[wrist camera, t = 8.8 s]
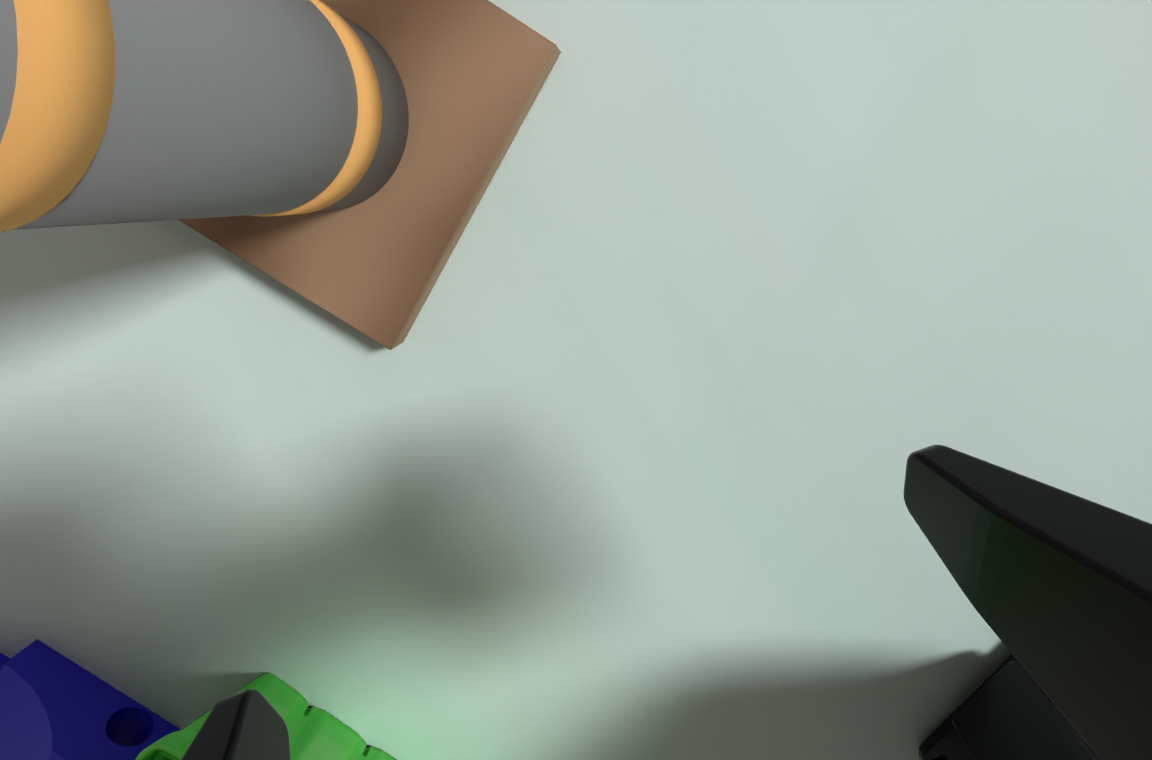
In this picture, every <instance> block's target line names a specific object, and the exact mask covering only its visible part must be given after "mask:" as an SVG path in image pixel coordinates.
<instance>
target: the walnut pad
mask: <svg viewBox="0 0 1152 760" xmlns="http://www.w3.org/2000/svg"><path fill="white" fill-rule="evenodd" d="M320 1H322V2H323V3H325V4H326V5H328V6H329V7H331V8H332V9H333V10H334V11H335V12H337V13H339V14H340V15H342V16H344V17H346V18H348V19H349V20H351V21H353V22H355V23H356V24H358V25H359V26H361V27H362V28H363V29H365V30H366V31H367V32H368V33H370V34H371V35H372V36H373V37H374V38H375V39H376V40H377V41H378V42H379V43H380V44H381V45H382V47H383V48H384V49H385V50H386V52H387V53H388V55H389V56H390V58H391V59H392V61H393V63H394V65H395V66H396V68H397V70H398V72H399V75H400V77H401V80H402V82H403V85H404V89H405V93H406V97H407V103H408V111H409V127H408V137H407V142H406V146H405V150H404V153H403V156H402V158H401V161H400V163H399V165H398V167H397V169H396V171H395V172H394V174H393V175H392V177H391V178H390V179H389V181H388V182H387V183H386V184H385V185H384V186H383V187H382V188H381V189H380V190H379V191H378V192H377V193H376V194H374V195H373V196H372V197H370V198H369V199H367V200H365V201H364V202H362V203H360V204H357V205H354V206H352V207H349V208H344V209H340V210H329V211H315V212H311V213H306V214H297V215H283V216H268V217H263V216H250V215H245V216H229V217H212V218H195V219H179V220H180V221H181V222H183V223H185V224H186V225H188V226H190V227H191V228H193V229H194V230H196V231H198V232H199V233H201V234H203V235H204V236H206V237H207V238H209V239H211V240H212V241H214V242H216V243H217V244H219V245H220V246H222V247H224V248H225V249H227V250H229V251H230V252H232V253H233V254H235V255H237V256H238V257H240V258H242V259H243V260H245V261H246V262H248V263H250V264H251V265H253V266H255V267H256V268H258V269H259V270H261V271H263V272H264V273H266V274H268V275H269V276H271V277H272V278H274V279H276V280H277V281H279V282H281V283H282V284H284V285H285V286H287V287H289V288H290V289H292V290H294V291H295V292H297V293H299V294H300V295H302V296H303V297H305V298H307V299H308V300H310V301H312V302H313V303H315V304H316V305H318V306H320V307H321V308H323V309H325V310H326V311H328V312H329V313H331V314H333V315H334V316H336V317H338V318H339V319H341V320H342V321H344V322H346V323H347V324H349V325H351V326H352V327H354V328H355V329H357V330H359V331H360V332H362V333H364V334H365V335H367V336H368V337H370V338H372V339H373V340H375V341H377V342H378V343H380V344H381V345H383V346H385V347H386V348H388V349H390V350H391V349H393V348H394V347H396V346H398V345H399V344H401V343H403V341H404V339H405V338H406V336H407V334H408V332H409V330H410V328H411V327H412V325H413V323H414V321H415V319H416V317H417V316H418V314H419V312H420V310H421V308H422V306H423V305H424V303H425V301H426V299H427V297H428V295H429V294H430V292H431V290H432V288H433V286H434V284H435V282H436V281H437V279H438V277H439V275H440V273H441V271H442V270H443V268H444V266H445V264H446V262H447V260H448V259H449V257H450V255H451V253H452V251H453V249H454V248H455V246H456V244H457V242H458V240H459V238H460V237H461V235H462V233H463V231H464V229H465V227H466V226H467V224H468V222H469V220H470V218H471V216H472V215H473V213H474V211H475V209H476V207H477V205H478V204H479V202H480V200H481V198H482V196H483V194H484V192H485V191H486V189H487V187H488V185H489V183H490V181H491V180H492V178H493V176H494V174H495V172H496V170H497V169H498V167H499V165H500V163H501V161H502V159H503V158H504V156H505V154H506V152H507V150H508V148H509V147H510V145H511V143H512V141H513V139H514V137H515V136H516V134H517V132H518V130H519V128H520V126H521V125H522V123H523V121H524V119H525V117H526V115H527V114H528V112H529V110H530V108H531V106H532V104H533V102H534V101H535V99H536V97H537V95H538V93H539V91H540V90H541V88H542V86H543V84H544V82H545V80H546V79H547V77H548V75H549V73H550V71H551V69H552V68H553V66H554V64H555V62H556V60H557V58H558V57H559V55H560V53H561V52H560V51H559V49H558V47H557V46H556V44H554V43H553V42H551V41H549V40H548V39H546V38H545V37H543V36H542V35H540V34H539V33H537V32H536V31H534V30H533V29H531V28H530V27H528V26H526V25H525V24H523V23H522V22H520V21H519V20H517V19H516V18H514V17H513V16H511V15H510V14H508V13H507V12H505V11H503V10H502V9H500V8H499V7H497V6H496V5H494V4H493V3H491V2H490V1H488V0H320Z"/></svg>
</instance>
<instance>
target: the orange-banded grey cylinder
mask: <svg viewBox="0 0 1152 760" xmlns="http://www.w3.org/2000/svg"><path fill="white" fill-rule="evenodd" d="M408 127H409V111H408V103H407V97H406V93H405V89H404V85H403V82H402V80H401V77H400V75H399V72H398V70H397V68H396V66H395V65H394V63H393V61H392V59H391V58H390V56H389V55H388V53H387V52H386V50H385V49H384V48H383V47H382V45H381V44H380V43H379V42H378V41H377V40H376V39H375V38H374V37H373V36H372V35H371V34H370V33H368V32H367V31H366V30H365V29H363V28H362V27H361V26H359V25H358V24H356V23H355V22H353V21H351V20H349V19H348V18H346V17H344V16H342V15H340V14H339V13H337V12H335V11H334V10H333V9H332V8H331V7H329V6H328V5H326V4H325V3H323V2H322V1H320V0H0V232H4V231H7V230H11V229H28V228H45V227H61V226H78V225H95V224H112V223H128V222H145V221H162V220H179V219H195V218H212V217H229V216H245V215H250V216H263V217H268V216H283V215H297V214H306V213H311V212H315V211H329V210H340V209H344V208H349V207H352V206H354V205H357V204H360V203H362V202H364V201H365V200H367V199H369V198H370V197H372V196H373V195H374V194H376V193H377V192H378V191H379V190H380V189H381V188H382V187H383V186H384V185H385V184H386V183H387V182H388V181H389V179H390V178H391V177H392V175H393V174H394V172H395V171H396V169H397V167H398V165H399V163H400V161H401V158H402V156H403V153H404V150H405V146H406V142H407V137H408Z"/></svg>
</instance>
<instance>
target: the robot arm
mask: <svg viewBox="0 0 1152 760" xmlns="http://www.w3.org/2000/svg"><path fill="white" fill-rule="evenodd" d="M904 500H905V504H906V506H907V508H908V510H909V512H910V514H911V515H912V517H913V518H914V520H915V521H916V523H917V524H918V526H919V527H920V529H921V530H922V532H923V533H924V535H925V536H926V537H927V539H928V540H929V542H930V543H931V545H932V546H933V548H934V549H935V551H936V552H937V554H938V555H939V557H940V558H941V560H942V561H943V563H944V564H945V566H946V567H947V569H948V570H949V572H950V573H951V575H952V576H953V578H954V579H955V581H956V582H957V584H958V585H959V587H960V588H961V590H962V591H963V592H964V594H965V595H966V597H967V598H968V599H969V601H970V602H971V604H972V605H973V606H974V608H975V609H976V610H977V611H978V613H979V614H980V615H981V616H982V618H983V619H984V620H985V621H986V623H987V624H988V625H989V626H990V627H991V629H992V630H993V631H994V632H995V633H996V635H997V636H998V637H999V638H1000V639H1001V641H1002V642H1003V643H1004V644H1005V645H1006V647H1007V648H1008V649H1009V650H1010V651H1011V653H1012V655H1011V656H1010V657H1009V658H1008V659H1007V660H1006V661H1005V662H1004V663H1003V664H1002V665H1001V666H1000V667H999V668H998V669H997V670H996V671H995V672H994V673H993V674H992V675H991V676H990V677H989V678H988V679H987V680H986V681H985V682H984V683H983V684H982V685H981V686H980V687H979V688H978V689H977V690H976V691H975V692H974V693H973V694H972V695H971V696H970V697H969V698H968V699H967V700H966V701H965V702H964V703H963V704H962V705H961V706H960V707H959V708H957V709H956V710H955V711H954V712H953V713H952V714H951V715H950V716H949V717H948V718H947V719H946V720H945V721H944V722H943V723H942V724H941V725H940V726H939V727H938V728H937V729H936V730H935V731H934V732H933V733H932V734H931V735H930V736H929V737H928V738H927V739H926V740H925V741H924V742H923V743H922V744H921V746H920V747H919V755H920V758H921V760H1152V524H1150V523H1148V522H1145V521H1142V520H1140V519H1137V518H1134V517H1132V516H1129V515H1126V514H1124V513H1121V512H1119V511H1116V510H1113V509H1111V508H1108V507H1105V506H1103V505H1100V504H1097V503H1095V502H1092V501H1089V500H1087V499H1084V498H1081V497H1079V496H1076V495H1073V494H1071V493H1068V492H1065V491H1063V490H1060V489H1057V488H1055V487H1052V486H1050V485H1047V484H1044V483H1042V482H1039V481H1036V480H1034V479H1031V478H1028V477H1026V476H1023V475H1020V474H1018V473H1015V472H1012V471H1010V470H1007V469H1004V468H1002V467H999V466H996V465H994V464H991V463H989V462H986V461H983V460H981V459H978V458H975V457H973V456H970V455H967V454H965V453H962V452H959V451H957V450H954V449H951V448H949V447H946V446H942V445H933V446H929V447H927V448H924V449H921V450H918V451H915V452H913V453H911V454H910V456H909V457H908V459H907V465H906V475H905V485H904ZM936 755H942V756H940V757H938V758H933V757H935V756H936ZM181 760H291V758H290V741H289V733H288V729H287V726H286V724H285V722H284V720H283V718H282V717H281V716H280V715H279V714H278V713H277V711H276V710H275V709H274V708H273V707H272V706H271V705H270V704H269V702H268V701H267V700H266V699H265V698H264V697H263V696H262V694H261V693H260V692H259V691H257V690H255V689H252V688H251V689H246V690H243V691H240V692H238V693H235V694H232V695H229V696H226V697H224V698H222V699H221V700H219V701H218V702H217V704H216V705H215V706H214V707H213V709H212V710H211V712H210V714H209V715H208V717H207V718H206V720H205V722H204V723H203V725H202V726H201V728H200V730H199V731H198V733H197V734H196V736H195V738H194V739H193V741H192V743H191V744H190V746H189V747H188V749H187V751H186V752H185V754H184V755H183V757H182V759H181Z"/></svg>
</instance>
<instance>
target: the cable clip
mask: <svg viewBox="0 0 1152 760" xmlns="http://www.w3.org/2000/svg"><path fill="white" fill-rule="evenodd" d="M179 730H180V729H179V728H177V727H176V726H174V725H173V724H171V723H169V722H168V721H166V720H165V719H163V718H162V717H160V716H158V715H157V714H155V713H154V712H152V711H150V710H149V709H147V708H146V707H144V706H142V705H141V704H139V703H138V702H136V701H134V700H133V699H131V698H130V697H128V696H126V695H125V694H123V693H122V692H120V691H118V690H117V689H115V688H114V687H112V686H111V685H109V684H107V683H106V682H104V681H103V680H101V679H99V678H98V677H96V676H95V675H93V674H91V673H90V672H88V671H87V670H85V669H83V668H82V667H80V666H79V665H77V664H75V663H74V662H72V661H71V660H69V659H67V658H66V657H64V656H63V655H61V654H60V653H58V652H56V651H55V650H53V649H52V648H50V647H48V646H47V645H45V644H44V643H42V642H40V641H39V640H36V641H34V642H33V643H32V644H30V645H29V646H28V647H26V648H25V649H23V650H22V651H21V652H19V653H18V654H17V655H15V656H14V657H13V658H11V659H10V658H8V657H7V656H5V655H3V654H2V653H0V760H135V759H136V758H137V756H138V755H139V753H140V752H141V751H143V750H144V749H145V748H147V747H148V746H150V745H151V744H153V743H155V742H156V741H158V740H159V739H161V738H163V737H164V736H166V735H168V734H170V733H172V732H176V731H179Z"/></svg>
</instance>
